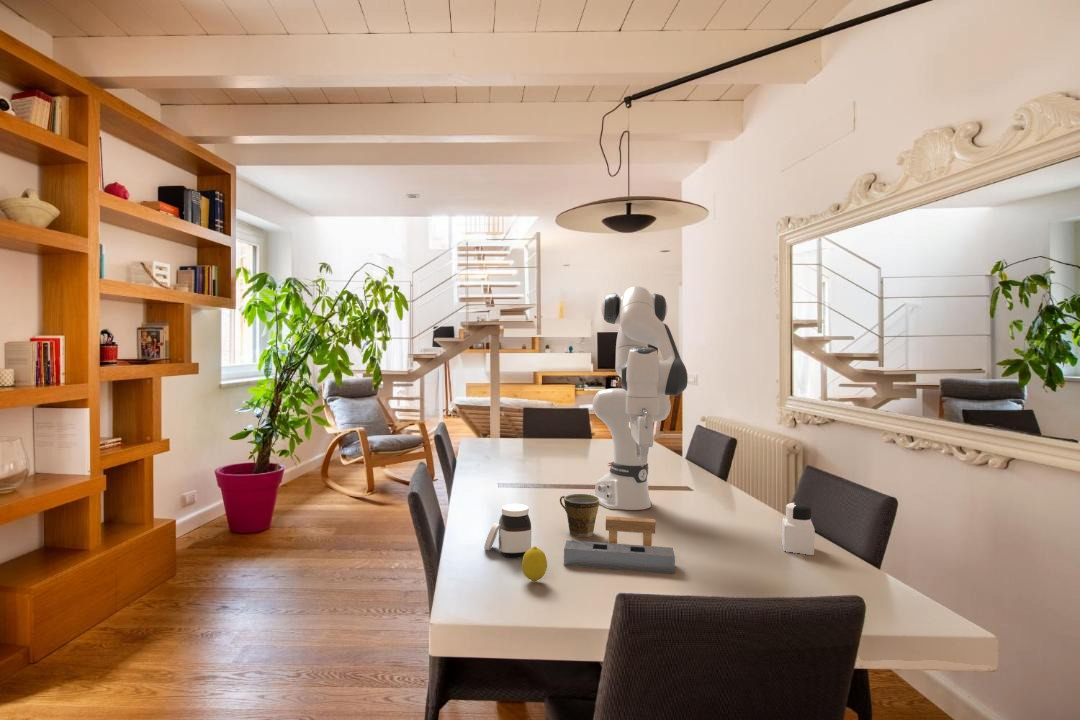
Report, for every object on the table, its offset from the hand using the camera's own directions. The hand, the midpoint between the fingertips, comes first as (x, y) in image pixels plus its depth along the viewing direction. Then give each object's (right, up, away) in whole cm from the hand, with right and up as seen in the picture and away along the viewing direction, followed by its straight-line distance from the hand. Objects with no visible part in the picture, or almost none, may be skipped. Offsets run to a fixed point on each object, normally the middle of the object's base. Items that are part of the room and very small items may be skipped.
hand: (641, 459), depth 151 cm
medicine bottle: (+41, -24, -1) cm, 47 cm away
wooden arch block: (-3, -23, 0) cm, 23 cm away
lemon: (-28, -23, -25) cm, 44 cm away
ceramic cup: (-17, -23, +10) cm, 30 cm away
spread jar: (-36, -23, -7) cm, 43 cm away
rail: (-8, -23, -14) cm, 28 cm away
